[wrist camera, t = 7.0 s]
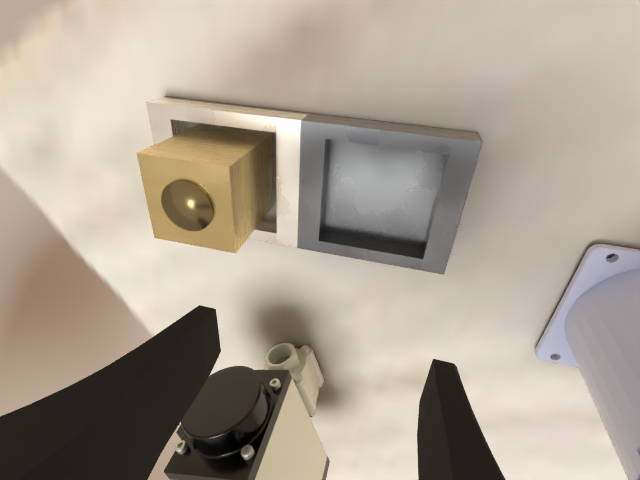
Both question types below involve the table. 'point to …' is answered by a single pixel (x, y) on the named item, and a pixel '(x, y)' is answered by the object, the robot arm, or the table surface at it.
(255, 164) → the brass cube with hole
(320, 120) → the tray
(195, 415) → the pneumatic valve
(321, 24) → the table surface
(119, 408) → the robot arm
